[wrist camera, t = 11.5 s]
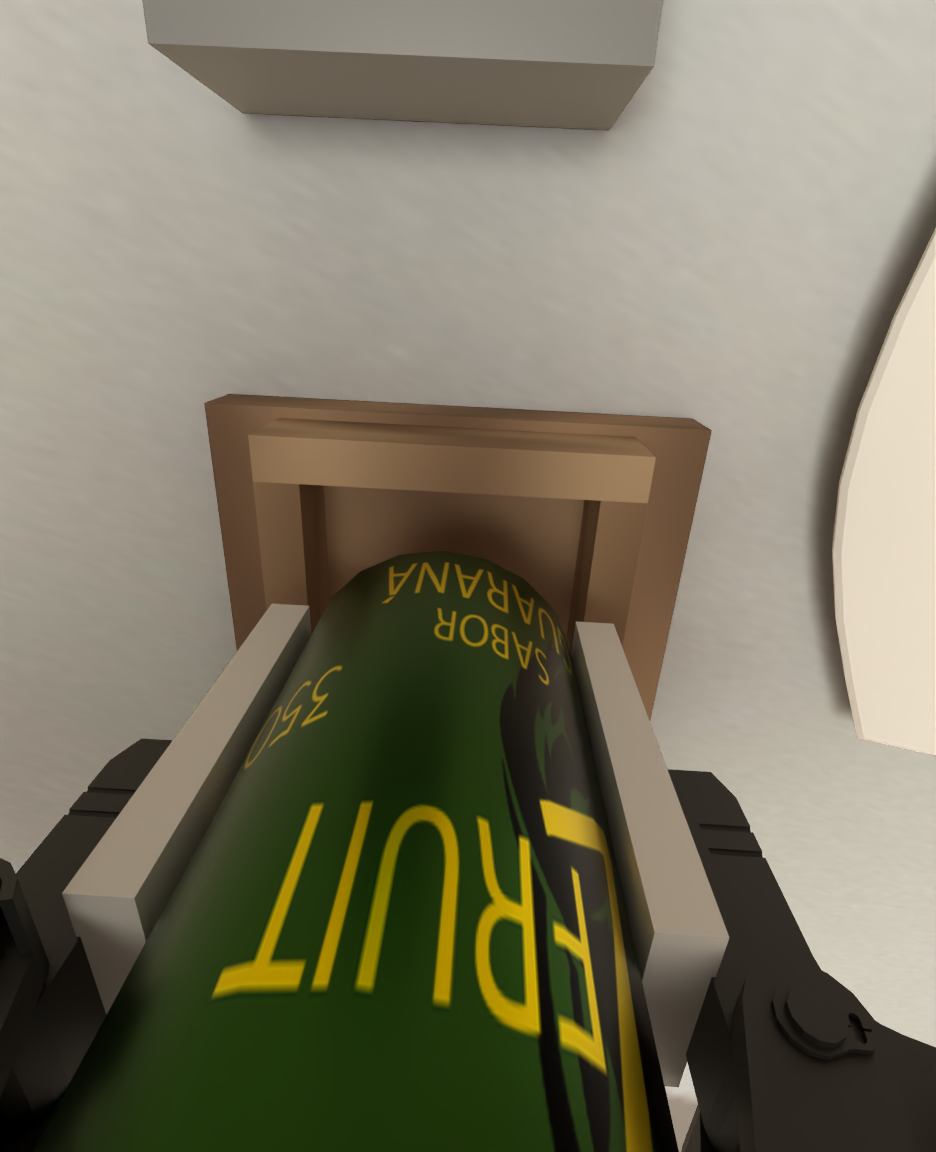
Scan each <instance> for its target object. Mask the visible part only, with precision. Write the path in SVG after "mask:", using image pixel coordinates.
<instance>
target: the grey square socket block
mask: <svg viewBox="0 0 936 1152" xmlns="http://www.w3.org/2000/svg"><path fill="white" fill-rule="evenodd" d="M142 1H143V8H144V16H145V23H146V30H147V38H148V43H149V44H150V45H151V46H153V47H154V48H155V49H157V50H158V51H159V52H161V53H162V54H163V55H165V56H166V57H167V58H169V59H170V60H172V61H173V62H174V63H176V64H177V65H178V66H180V67H181V68H182V69H184V70H185V71H186V72H188V73H189V74H190V75H192V76H193V77H194V78H196V79H197V80H199V81H200V82H201V83H203V84H204V85H205V86H207V87H208V88H209V89H211V90H212V91H213V92H215V93H216V94H217V95H219V96H220V97H221V98H223V99H224V100H226V101H227V102H228V103H230V104H231V105H232V106H234V107H235V108H236V109H238V110H239V111H240V112H242V113H254V114H276V115H297V116H318V117H339V118H361V119H382V120H403V121H424V122H446V123H467V124H488V125H509V126H531V127H552V128H573V129H594V130H610V128H611V127H612V125H613V124H614V122H615V121H616V120H617V118H618V117H619V115H620V114H621V112H622V111H623V110H624V108H625V107H626V105H627V104H628V102H629V101H630V100H631V98H632V97H633V95H634V94H635V92H636V91H637V90H638V88H639V87H640V85H641V84H642V82H643V81H644V80H645V78H646V77H647V75H648V74H649V72H650V71H651V70H652V68H653V67H654V61H655V54H656V46H657V39H658V32H659V25H660V17H661V10H662V3H663V0H142Z"/></svg>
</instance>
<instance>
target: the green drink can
mask: <svg viewBox="0 0 936 1152" xmlns="http://www.w3.org/2000/svg"><path fill="white" fill-rule="evenodd" d="M33 1152H679V1151H678V1147H677V1142H676V1137H675V1133H674V1128H673V1124H672V1119H671V1114H670V1110H669V1105H668V1100H667V1096H666V1091H665V1086H664V1082H663V1077H662V1072H661V1068H660V1063H659V1058H658V1054H657V1049H656V1045H655V1040H654V1035H653V1031H652V1026H651V1021H650V1017H649V1012H648V1008H647V1003H646V998H645V994H644V989H643V984H642V980H641V975H640V970H639V966H638V961H637V957H636V952H635V947H634V943H633V938H632V933H631V929H630V924H629V920H628V915H627V910H626V906H625V901H624V896H623V892H622V887H621V882H620V878H619V873H618V869H617V864H616V859H615V855H614V850H613V845H612V841H611V836H610V832H609V827H608V822H607V818H606V813H605V808H604V804H603V799H602V794H601V790H600V785H599V781H598V776H597V771H596V767H595V762H594V757H593V753H592V748H591V744H590V739H589V734H588V730H587V725H586V720H585V716H584V711H583V706H582V702H581V697H580V693H579V688H578V683H577V679H576V674H575V669H574V665H573V660H572V656H571V651H570V646H569V642H568V640H567V638H566V635H565V633H564V631H563V629H562V627H561V624H560V622H559V620H558V618H557V616H556V614H555V611H554V609H553V608H552V607H551V606H550V605H549V603H548V602H547V601H546V600H545V599H544V598H543V597H542V596H541V595H540V594H539V593H538V592H537V591H536V590H535V589H534V588H533V587H532V586H531V585H530V584H529V583H528V582H527V581H526V580H525V579H524V578H522V577H520V576H518V575H516V574H514V573H512V572H510V571H509V570H507V569H505V568H503V567H501V566H499V565H497V564H495V563H493V562H492V561H490V560H488V559H485V558H480V557H475V556H470V555H465V554H460V553H455V552H449V551H444V550H442V551H432V552H422V553H411V554H401V555H397V556H395V557H393V558H390V559H388V560H386V561H383V562H381V563H378V564H376V565H374V566H371V567H369V568H367V569H364V570H362V571H360V572H359V573H358V574H357V575H356V576H355V577H353V578H352V579H351V580H350V581H349V582H348V583H347V584H346V585H345V586H344V587H342V588H341V589H340V590H339V591H338V592H337V593H336V594H335V595H334V596H332V597H331V599H330V601H329V603H328V605H327V607H326V609H325V610H324V612H323V614H322V616H321V618H320V620H319V622H318V623H317V625H316V627H315V629H314V631H313V633H312V635H311V636H310V638H309V640H308V642H307V644H306V646H305V648H304V649H303V651H302V653H301V655H300V657H299V659H298V661H297V662H296V664H295V666H294V668H293V670H292V672H291V674H290V675H289V677H288V679H287V681H286V683H285V685H284V687H283V688H282V690H281V692H280V694H279V696H278V698H277V700H276V701H275V703H274V705H273V707H272V709H271V711H270V712H269V714H268V716H267V718H266V720H265V722H264V724H263V725H262V727H261V729H260V731H259V733H258V735H257V737H256V738H255V740H254V742H253V744H252V746H251V748H250V750H249V751H248V753H247V755H246V757H245V759H244V761H243V763H242V764H241V766H240V768H239V770H238V772H237V774H236V776H235V777H234V779H233V781H232V783H231V785H230V787H229V789H228V790H227V792H226V794H225V796H224V798H223V800H222V802H221V803H220V805H219V807H218V809H217V811H216V813H215V815H214V816H213V818H212V820H211V822H210V824H209V826H208V828H207V829H206V831H205V833H204V835H203V837H202V839H201V841H200V842H199V844H198V846H197V848H196V850H195V852H194V854H193V855H192V857H191V859H190V861H189V863H188V865H187V867H186V868H185V870H184V872H183V874H182V876H181V878H180V880H179V881H178V883H177V885H176V887H175V889H174V891H173V893H172V894H171V896H170V898H169V900H168V902H167V904H166V906H165V907H164V909H163V911H162V913H161V915H160V917H159V918H158V920H157V922H156V924H155V926H154V928H153V930H152V931H151V933H150V935H149V937H148V939H147V941H146V943H145V944H144V946H143V948H142V950H141V952H140V954H139V956H138V957H137V959H136V961H135V963H134V965H133V967H132V969H131V970H130V972H129V974H128V976H127V978H126V980H125V982H124V983H123V985H122V987H121V989H120V991H119V993H118V995H117V996H116V998H115V1000H114V1002H113V1004H112V1006H111V1008H110V1009H109V1011H108V1013H107V1015H106V1017H105V1019H104V1021H103V1022H102V1024H101V1026H100V1028H99V1030H98V1032H97V1034H96V1035H95V1037H94V1039H93V1041H92V1043H91V1045H90V1047H89V1048H88V1050H87V1052H86V1054H85V1056H84V1058H83V1060H82V1061H81V1063H80V1065H79V1067H78V1069H77V1071H76V1073H75V1074H74V1076H73V1078H72V1080H71V1082H70V1084H69V1086H68V1087H67V1089H66V1091H65V1093H64V1095H63V1097H62V1099H61V1100H60V1102H59V1104H58V1106H57V1108H56V1110H55V1112H54V1113H53V1115H52V1117H51V1119H50V1121H49V1123H48V1124H47V1126H46V1128H45V1130H44V1132H43V1134H42V1136H41V1137H40V1139H39V1141H38V1143H37V1145H36V1147H35V1149H34V1150H33Z"/></svg>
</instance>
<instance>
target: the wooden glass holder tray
mask: <svg viewBox="0 0 936 1152" xmlns="http://www.w3.org/2000/svg"><path fill="white" fill-rule="evenodd" d="M204 404H205V411H206V419H207V426H208V434H209V442H210V449H211V457H212V464H213V472H214V480H215V487H216V495H217V502H218V510H219V518H220V525H221V533H222V540H223V548H224V556H225V563H226V571H227V578H228V586H229V594H230V601H231V609H232V617H233V624H234V632H235V639H236V647H237V651H238V650H239V648H240V647H241V646H242V644H243V643H244V641H245V640H246V639H247V637H248V636H249V634H250V633H251V632H252V630H253V629H254V628H255V626H256V625H257V623H258V622H259V621H260V619H261V618H262V617H263V615H264V614H265V612H266V611H267V610H268V608H269V607H270V606H271V604H288V605H305V606H309V609H310V623H311V635H312V633H313V631H314V629H315V627H316V625H317V623H318V622H319V620H320V618H321V616H322V614H323V612H324V610H325V609H326V607H327V605H328V603H329V601H330V599H331V597H332V596H334V595H335V594H336V593H337V592H338V591H339V590H340V589H341V588H342V587H344V586H345V585H346V584H347V583H348V582H349V581H350V580H351V579H352V578H353V577H355V576H356V575H357V574H358V573H359V572H360V571H362V570H364V569H367V568H369V567H371V566H374V565H376V564H378V563H381V562H383V561H386V560H388V559H390V558H393V557H395V556H397V555H401V554H411V553H422V552H432V551H442V550H444V551H449V552H455V553H460V554H465V555H470V556H475V557H480V558H485V559H488V560H490V561H492V562H493V563H495V564H497V565H499V566H501V567H503V568H505V569H507V570H509V571H510V572H512V573H514V574H516V575H518V576H520V577H522V578H524V579H525V580H526V581H527V582H528V583H529V584H530V585H531V586H532V587H533V588H534V589H535V590H536V591H537V592H538V593H539V594H540V595H541V596H542V597H543V598H544V599H545V600H546V601H547V602H548V603H549V605H550V606H551V607H552V608H553V609H554V611H555V614H556V616H557V618H558V620H559V622H560V624H561V627H562V629H563V631H564V633H565V635H566V638H567V640H568V642H569V646H570V651H571V652H572V645H573V638H574V631H575V623H576V621H577V622H594V623H611V624H614V626H615V629H616V631H617V634H618V637H619V639H620V642H621V645H622V648H623V650H624V653H625V656H626V658H627V661H628V664H629V667H630V669H631V672H632V675H633V677H634V680H635V683H636V686H637V688H638V691H639V694H640V696H641V699H642V702H643V705H644V707H645V710H646V713H647V715H648V718H649V721H650V719H651V714H652V709H653V705H654V700H655V695H656V690H657V686H658V681H659V676H660V672H661V667H662V662H663V657H664V653H665V648H666V643H667V639H668V634H669V629H670V624H671V620H672V615H673V610H674V606H675V601H676V596H677V591H678V587H679V582H680V577H681V572H682V568H683V563H684V558H685V554H686V549H687V544H688V539H689V535H690V530H691V525H692V521H693V516H694V511H695V506H696V502H697V497H698V492H699V488H700V483H701V478H702V473H703V469H704V464H705V459H706V454H707V450H708V445H709V440H710V436H711V431H712V430H710V429H709V428H707V427H705V426H704V425H702V424H700V423H699V422H697V421H695V420H694V419H688V418H669V417H650V416H631V415H613V414H594V413H575V412H556V411H537V410H519V409H500V408H481V407H462V406H443V405H425V404H406V403H387V402H368V401H349V400H331V399H312V398H293V397H274V396H255V395H237V394H228V395H225V396H223V397H220V398H217V399H215V400H212V401H209V402H206V403H204Z"/></svg>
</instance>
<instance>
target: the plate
mask: <svg viewBox="0 0 936 1152" xmlns="http://www.w3.org/2000/svg"><path fill="white" fill-rule="evenodd" d="M832 560H833V583H834V607H835V619H836V626H837V632H838V638H839V645H840V651H841V657H842V663H843V670H844V676H845V681H846V686H847V691H848V696H849V702H850V707H851V712H852V717H853V722H854V727H855V732H856V735H857V738H860V739H864V740H868V741H872V742H877V743H881V744H885V745H889V746H894V747H898V748H902V749H906V750H911V751H915V752H920V753H925V754H930V755H936V228H935V230H934V232H933V234H932V236H931V239H930V241H929V243H928V245H927V247H926V249H925V251H924V253H923V255H922V258H921V260H920V262H919V264H918V266H917V268H916V270H915V272H914V274H913V277H912V279H911V281H910V283H909V285H908V287H907V289H906V291H905V294H904V296H903V298H902V300H901V302H900V304H899V306H898V308H897V310H896V313H895V315H894V317H893V319H892V322H891V325H890V327H889V330H888V332H887V335H886V338H885V340H884V343H883V345H882V348H881V350H880V353H879V356H878V358H877V361H876V363H875V366H874V369H873V371H872V374H871V376H870V379H869V382H868V384H867V387H866V389H865V392H864V395H863V397H862V400H861V402H860V405H859V408H858V410H857V414H856V418H855V422H854V426H853V430H852V434H851V438H850V442H849V446H848V449H847V453H846V457H845V461H844V465H843V469H842V473H841V477H840V481H839V487H838V496H837V506H836V515H835V525H834V535H833V544H832Z"/></svg>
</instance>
